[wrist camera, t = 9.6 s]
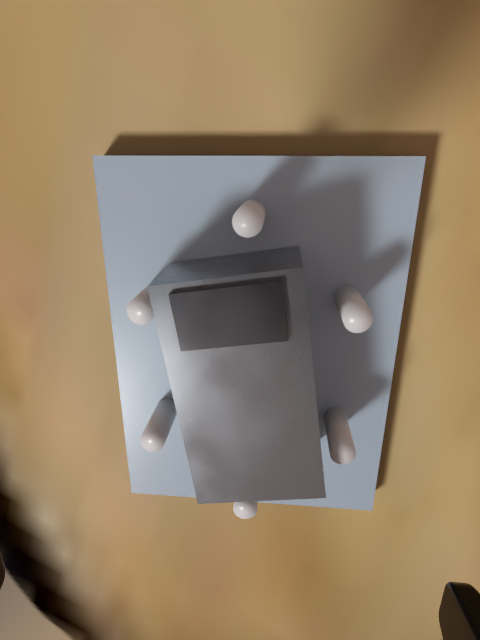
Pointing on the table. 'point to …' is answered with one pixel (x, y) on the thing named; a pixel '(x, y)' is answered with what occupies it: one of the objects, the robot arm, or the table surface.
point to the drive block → (242, 374)
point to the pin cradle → (320, 282)
